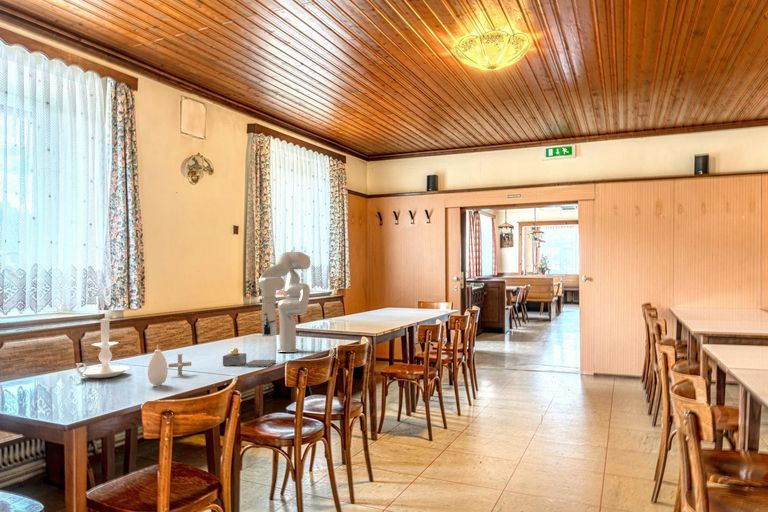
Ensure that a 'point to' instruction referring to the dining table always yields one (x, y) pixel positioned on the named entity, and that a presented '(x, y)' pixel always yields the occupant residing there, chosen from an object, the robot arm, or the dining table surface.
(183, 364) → the pipe connector
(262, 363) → the press bed
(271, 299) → the robot arm
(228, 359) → the block
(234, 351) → the brass pin
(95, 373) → the candlestick
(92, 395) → the dining table surface
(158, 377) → the egg shaped candle
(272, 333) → the block
